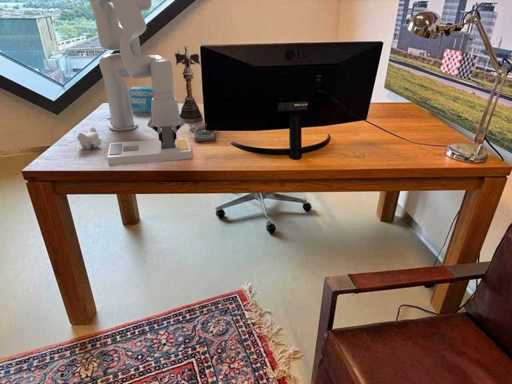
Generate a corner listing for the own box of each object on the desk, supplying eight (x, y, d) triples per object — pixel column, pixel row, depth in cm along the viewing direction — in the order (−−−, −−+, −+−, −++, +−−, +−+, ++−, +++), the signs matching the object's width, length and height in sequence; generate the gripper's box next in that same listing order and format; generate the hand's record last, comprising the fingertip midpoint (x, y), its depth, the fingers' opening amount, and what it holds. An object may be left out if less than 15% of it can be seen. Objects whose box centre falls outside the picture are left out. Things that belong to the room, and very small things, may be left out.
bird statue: (178, 112, 187) (172, 40, 169) (203, 112, 188) (200, 41, 170) (173, 122, 173) (167, 45, 155) (201, 123, 174) (198, 46, 156)
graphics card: (189, 123, 164) (215, 122, 166) (189, 130, 166) (215, 130, 168) (187, 136, 150) (216, 136, 151) (188, 145, 152) (216, 144, 153)
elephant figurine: (95, 152, 139) (92, 135, 136) (75, 149, 142) (71, 132, 138) (108, 145, 146) (105, 129, 142) (88, 142, 148) (84, 125, 145)
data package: (131, 112, 184) (128, 88, 178) (133, 109, 188) (130, 86, 182) (155, 112, 185) (153, 89, 179) (156, 110, 189) (154, 87, 183)
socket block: (108, 165, 130) (107, 156, 129) (111, 150, 142) (109, 142, 140) (191, 158, 138) (191, 150, 136) (187, 144, 150) (187, 137, 148)
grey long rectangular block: (163, 151, 139) (160, 117, 132) (163, 147, 142) (159, 114, 135) (174, 150, 140) (171, 117, 133) (173, 146, 143) (170, 114, 136)
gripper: (139, 98, 125) (145, 147, 134) (188, 96, 129) (190, 143, 139) (139, 92, 131) (145, 139, 141) (185, 91, 136) (188, 136, 145)
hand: (168, 141), depth 139 cm, fingers closed on grey long rectangular block, 4 cm apart
